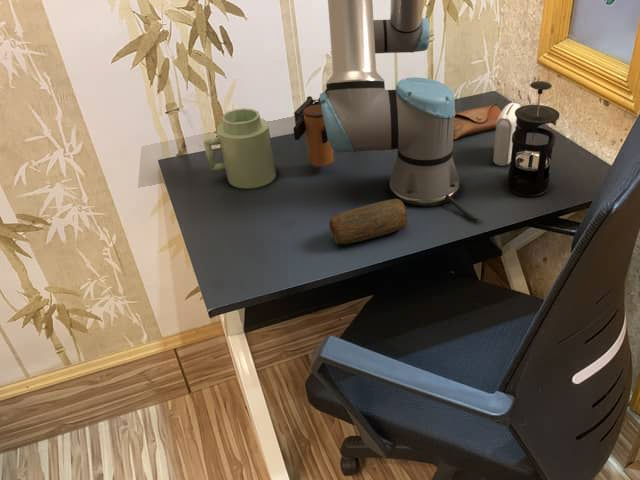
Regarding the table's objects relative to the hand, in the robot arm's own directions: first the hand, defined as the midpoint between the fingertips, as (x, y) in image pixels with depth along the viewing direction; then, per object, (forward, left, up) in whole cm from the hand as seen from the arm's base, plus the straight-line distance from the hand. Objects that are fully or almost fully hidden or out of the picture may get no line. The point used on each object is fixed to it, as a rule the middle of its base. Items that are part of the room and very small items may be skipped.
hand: (309, 135), depth 133 cm
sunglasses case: (+15, -45, -11) cm, 48 cm away
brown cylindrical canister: (+5, -3, -8) cm, 10 cm away
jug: (+6, +15, -11) cm, 20 cm away
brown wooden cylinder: (-25, -7, -11) cm, 28 cm away
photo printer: (-2, -46, -11) cm, 47 cm away
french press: (-16, -45, -11) cm, 48 cm away
